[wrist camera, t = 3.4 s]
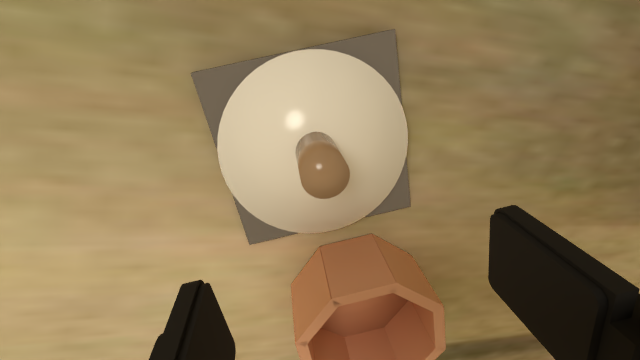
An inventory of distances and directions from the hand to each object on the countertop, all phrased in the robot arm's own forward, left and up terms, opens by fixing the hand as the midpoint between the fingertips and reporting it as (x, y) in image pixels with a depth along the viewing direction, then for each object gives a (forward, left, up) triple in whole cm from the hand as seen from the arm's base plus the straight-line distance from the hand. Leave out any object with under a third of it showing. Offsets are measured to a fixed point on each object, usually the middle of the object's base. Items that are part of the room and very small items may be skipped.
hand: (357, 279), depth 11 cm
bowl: (-1, +14, -14) cm, 20 cm away
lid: (0, 0, -14) cm, 14 cm away
